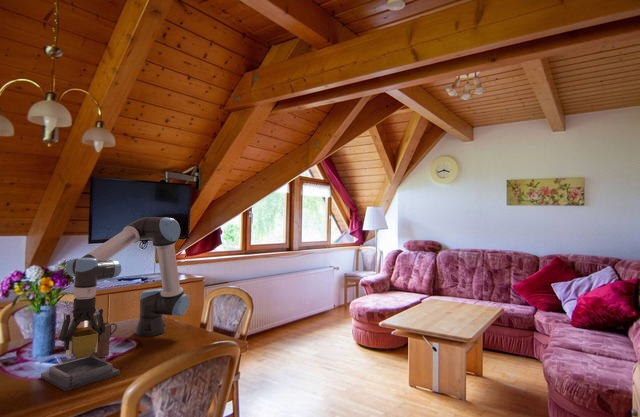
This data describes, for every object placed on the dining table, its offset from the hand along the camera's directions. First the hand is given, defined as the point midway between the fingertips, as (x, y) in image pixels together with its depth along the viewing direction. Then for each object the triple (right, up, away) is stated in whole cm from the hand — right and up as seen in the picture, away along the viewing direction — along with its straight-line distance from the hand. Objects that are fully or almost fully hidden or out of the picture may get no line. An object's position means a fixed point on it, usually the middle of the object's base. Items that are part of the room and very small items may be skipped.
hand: (81, 354), depth 153 cm
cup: (-18, -9, +35) cm, 40 cm away
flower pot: (0, -1, 0) cm, 1 cm away
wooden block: (-7, -9, +22) cm, 25 cm away
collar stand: (0, -8, 0) cm, 8 cm away
